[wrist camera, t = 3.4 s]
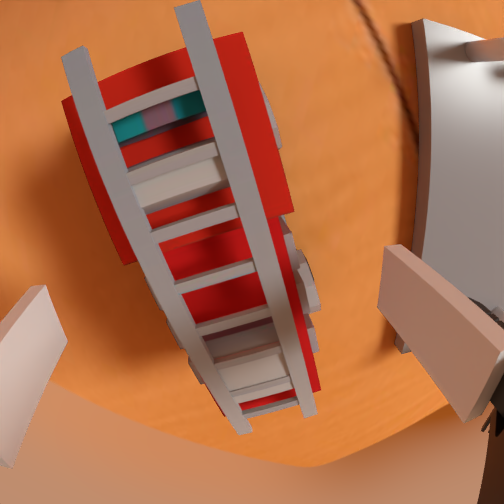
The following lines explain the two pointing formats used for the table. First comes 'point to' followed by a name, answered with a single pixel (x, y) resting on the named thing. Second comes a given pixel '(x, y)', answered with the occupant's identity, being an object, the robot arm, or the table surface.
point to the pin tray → (460, 161)
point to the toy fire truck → (204, 213)
